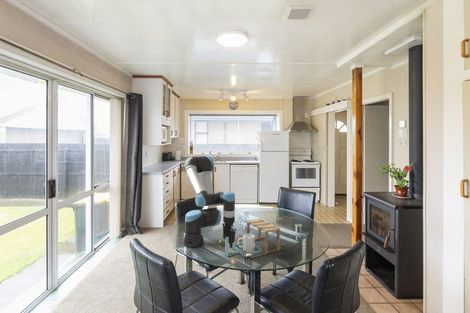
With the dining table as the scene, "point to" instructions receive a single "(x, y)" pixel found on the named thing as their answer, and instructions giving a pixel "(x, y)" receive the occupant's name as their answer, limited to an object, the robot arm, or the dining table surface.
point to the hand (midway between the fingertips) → (228, 250)
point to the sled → (236, 250)
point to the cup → (247, 242)
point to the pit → (275, 242)
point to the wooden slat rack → (266, 228)
